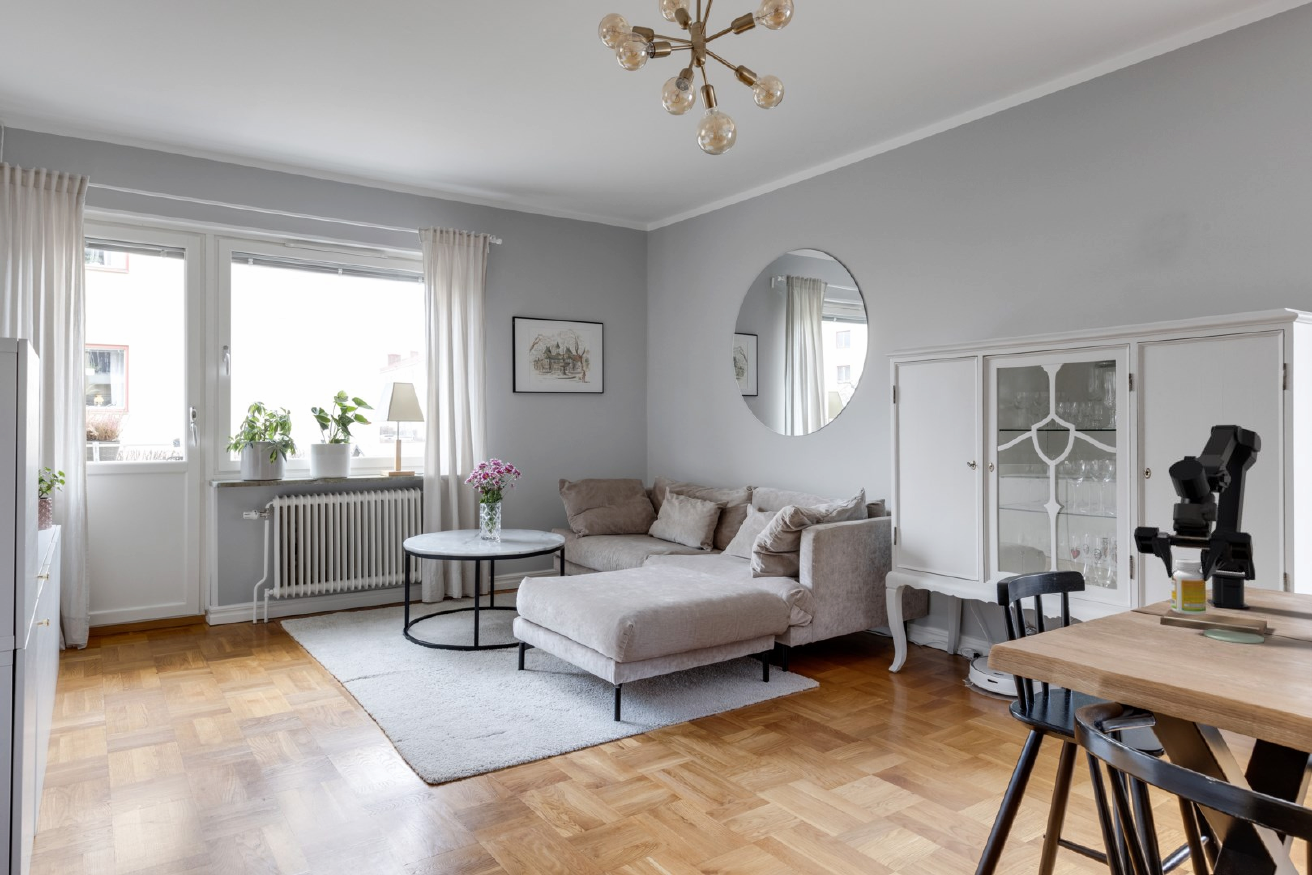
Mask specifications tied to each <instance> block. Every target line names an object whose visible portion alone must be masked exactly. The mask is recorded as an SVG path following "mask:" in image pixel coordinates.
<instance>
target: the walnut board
mask: <svg viewBox="0 0 1312 875" xmlns="http://www.w3.org/2000/svg"><path fill="white" fill-rule="evenodd" d="M1159 620H1160V625H1166V626H1174V627H1180V628H1189V629H1197V630H1202V631H1205V630H1210V629H1220V630H1228V631H1236V632H1244V633H1252V634H1256V635H1259V636H1262V637H1263V636H1264V634H1265V633H1266V630H1267V629H1268V621H1267V620H1261V619H1260V620H1259V619H1251V618H1246V617H1245V618H1243V617H1234V616H1228V615H1218V614H1211V613H1210V614H1209V613H1208V614H1207V613H1205V614H1201V615H1192V614H1183V613H1178V612H1175V611H1173V610H1172V609H1168V610H1167V611H1166V613H1164V614H1163V615H1162V616H1161V617H1160V618H1159Z"/></svg>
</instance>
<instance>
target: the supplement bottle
mask: <svg viewBox="0 0 1312 875" xmlns="http://www.w3.org/2000/svg"><path fill="white" fill-rule="evenodd" d="M1175 568H1176V570H1174V571H1172V576H1171V610H1173V611H1175V612H1178V613H1183V614H1192V615H1201V614H1207V597H1206V596H1207V592H1206V590H1207V589H1206V588H1207V587H1206V586H1207V585H1206V582H1207V581H1204V574H1203V573H1202V571H1201V572H1200V570H1202V567H1201V560H1196V559H1195V560H1194V559H1183V558H1182V559H1181V558H1180V559H1179V558H1178V559H1175Z"/></svg>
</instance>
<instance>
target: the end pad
mask: <svg viewBox="0 0 1312 875" xmlns="http://www.w3.org/2000/svg"><path fill="white" fill-rule="evenodd" d="M1203 635H1204V636H1205V637H1207V638H1209V639H1213V640H1217V641H1221V642H1229V643H1235V644H1237V643H1238V644H1260V643H1263V642H1265V638H1264V637H1263V636H1259V635H1256V634H1252V633H1244V632H1236V631H1228V630H1220V629H1210V630H1203Z"/></svg>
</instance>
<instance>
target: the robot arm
mask: <svg viewBox="0 0 1312 875" xmlns="http://www.w3.org/2000/svg"><path fill="white" fill-rule="evenodd" d="M1261 449H1262V439H1261V436H1260V435H1259V434H1258V432H1256V431H1253V430H1249V429H1247V428H1243V427H1242V426H1240V425H1237V424H1216V425H1213V426H1211V428H1210V436H1209V438H1208V440H1207V441H1206V444H1205V445H1204V447H1203V450H1202V451H1201V453H1200V455H1199V456H1198V457H1197V456H1196V455H1184V457H1183V459H1181V460H1178V461H1176V462H1174V463H1173V464H1171V466H1169V468H1168V475H1169V476H1170V480H1171V482H1172V485H1173V487H1174V491H1175V493H1176V496H1177V497H1180V502H1176V503H1174V504H1173V511H1172V512H1173V513H1172V521H1173V525H1172V529H1173V530H1172V531H1173V532H1175V533H1174V534H1170V533H1168V532H1166V531H1160V528H1159V527H1158V526H1144V525H1143V526H1141V525H1140V526H1137V527H1136V528H1135V529H1134V532H1133V537H1134V541H1135V545H1136V548H1137V552H1139V553H1141V554H1145V555H1146V554H1147V555H1148V554H1149V555H1154V556H1155V557H1156V558H1160V559H1161V561H1162V563H1163V564H1164V566H1165V570H1166V573H1167V577H1168V579H1172V573H1173V553H1172V547H1173V546H1174V547H1176V548H1184V549H1196V550H1199V549H1200V550H1201V551H1200V557H1199V558H1200V562H1201V573H1203V574H1204V581H1206V582H1208V581H1209V580H1210V578H1211V595H1212V596H1211V597H1212V598H1208V599H1207V598H1206V603H1209V605H1212V606H1213V607H1216V608H1229V609H1230V608H1232V609H1249V610H1250V609H1251V606H1250V605H1248V604H1247V603H1245V581H1255V580H1256V569H1255V563H1254V558H1253V557H1254V548H1253V547H1254V546H1253V545H1254V544H1253V538H1252V535H1251V534H1250V533H1249V532H1247V531H1245V532H1244V531H1241V530H1242V523H1243V522H1242V520H1243V510H1244V499H1245V492H1246V491H1245V490H1246V480H1247V472H1248V471H1249V470H1250V469H1251V468H1252V466H1254V464H1255V463H1257V460H1258V454H1259V453H1260V452H1261ZM1215 493H1216V494H1217V493H1218V502H1216V496H1215ZM1213 522H1215V529H1214V530H1213Z"/></svg>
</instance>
